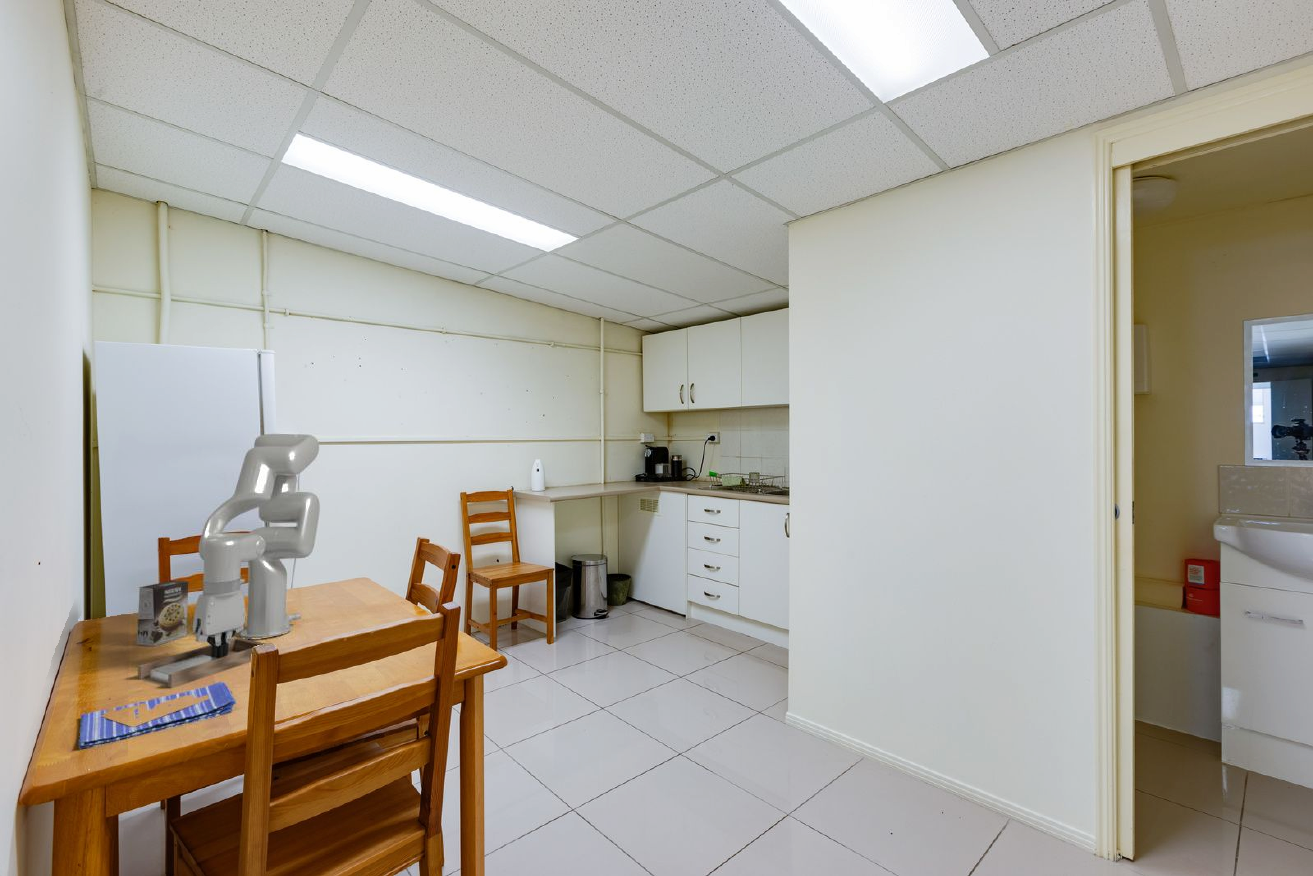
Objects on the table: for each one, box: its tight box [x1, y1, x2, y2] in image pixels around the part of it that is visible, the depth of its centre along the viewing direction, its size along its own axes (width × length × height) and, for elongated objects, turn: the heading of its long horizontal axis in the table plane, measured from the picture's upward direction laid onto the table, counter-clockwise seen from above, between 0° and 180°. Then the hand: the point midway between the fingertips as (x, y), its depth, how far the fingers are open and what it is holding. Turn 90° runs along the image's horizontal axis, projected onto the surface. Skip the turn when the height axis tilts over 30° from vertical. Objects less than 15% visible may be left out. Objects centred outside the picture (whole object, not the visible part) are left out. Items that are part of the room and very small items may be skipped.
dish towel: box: [78, 681, 237, 751], centre depth 117 cm, size 17×24×3 cm
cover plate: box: [150, 655, 218, 683], centre depth 137 cm, size 11×8×2 cm
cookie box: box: [136, 580, 189, 647], centre depth 161 cm, size 9×6×16 cm
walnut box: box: [137, 637, 267, 689], centre depth 141 cm, size 22×13×4 cm, turn 158°
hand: (219, 659), depth 144 cm, fingers closed
